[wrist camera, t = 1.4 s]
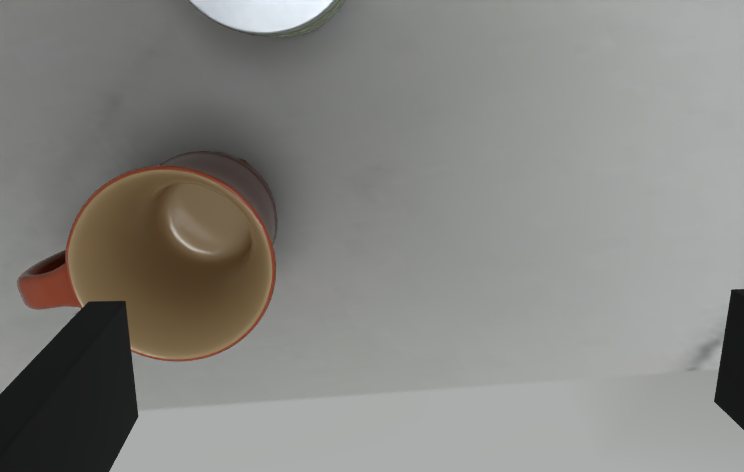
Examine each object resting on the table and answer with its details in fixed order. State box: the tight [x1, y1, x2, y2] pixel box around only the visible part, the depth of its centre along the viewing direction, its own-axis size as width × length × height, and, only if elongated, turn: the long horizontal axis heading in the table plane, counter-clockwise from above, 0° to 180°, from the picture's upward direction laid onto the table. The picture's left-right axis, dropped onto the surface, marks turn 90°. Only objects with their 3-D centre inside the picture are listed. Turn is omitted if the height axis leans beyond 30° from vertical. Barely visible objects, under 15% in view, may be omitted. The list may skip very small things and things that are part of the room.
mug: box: [17, 151, 277, 361], centre depth 34 cm, size 12×9×10 cm
